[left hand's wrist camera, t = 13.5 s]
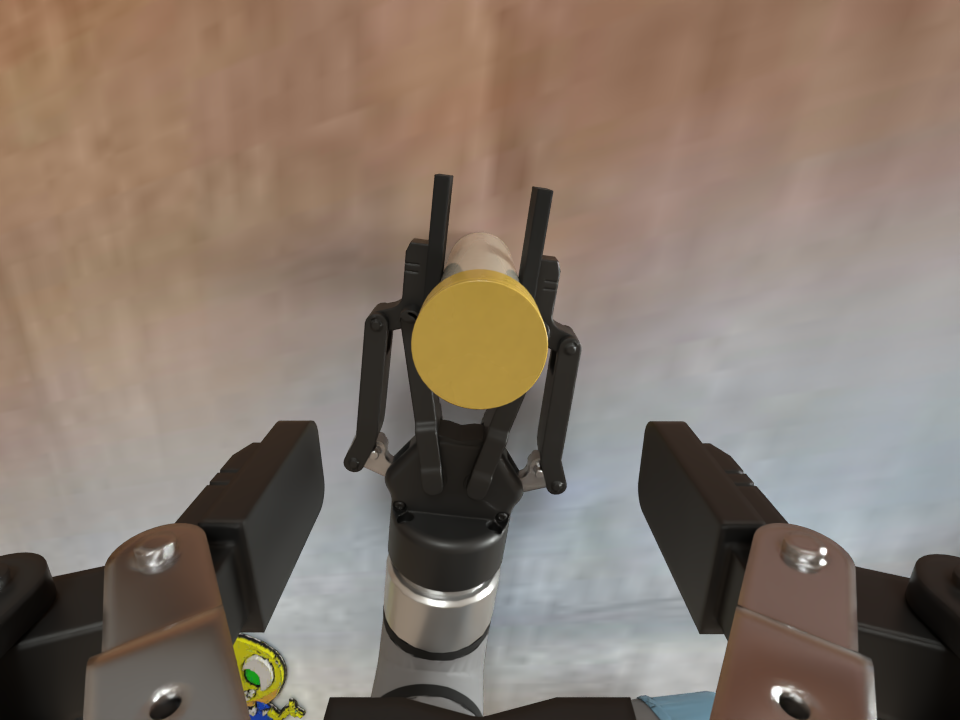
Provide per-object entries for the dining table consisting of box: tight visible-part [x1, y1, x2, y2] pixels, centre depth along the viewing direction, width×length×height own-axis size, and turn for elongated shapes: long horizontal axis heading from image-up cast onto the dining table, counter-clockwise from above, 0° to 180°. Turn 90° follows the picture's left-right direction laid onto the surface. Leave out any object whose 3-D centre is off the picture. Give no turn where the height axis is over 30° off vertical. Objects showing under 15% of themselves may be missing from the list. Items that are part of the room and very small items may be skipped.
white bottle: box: [440, 233, 520, 283], centre depth 26 cm, size 4×4×16 cm
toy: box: [233, 633, 306, 720], centre depth 47 cm, size 10×1×15 cm
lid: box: [411, 269, 548, 409], centre depth 20 cm, size 5×5×2 cm
